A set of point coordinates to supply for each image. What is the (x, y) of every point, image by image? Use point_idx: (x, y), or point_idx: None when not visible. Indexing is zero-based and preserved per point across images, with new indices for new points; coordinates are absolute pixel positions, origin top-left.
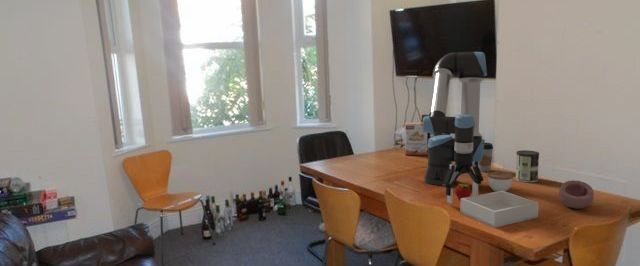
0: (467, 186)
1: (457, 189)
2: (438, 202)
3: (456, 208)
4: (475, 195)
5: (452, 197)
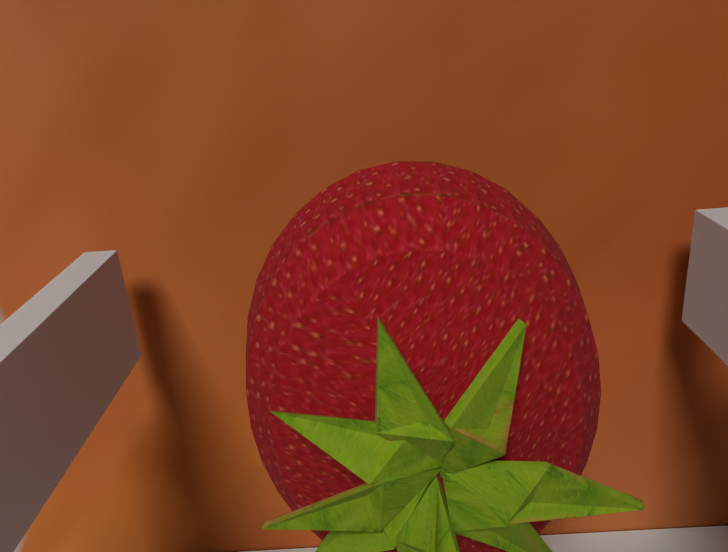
0: (505, 541)
1: (251, 407)
2: (12, 55)
3: (165, 418)
4: (711, 314)
5: (91, 418)
